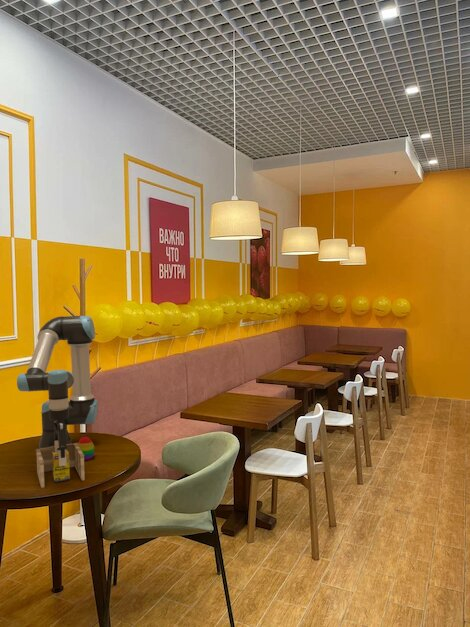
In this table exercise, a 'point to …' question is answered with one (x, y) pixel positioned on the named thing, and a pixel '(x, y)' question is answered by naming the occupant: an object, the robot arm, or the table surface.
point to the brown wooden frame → (47, 464)
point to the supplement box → (60, 468)
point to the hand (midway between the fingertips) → (60, 460)
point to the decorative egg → (86, 447)
